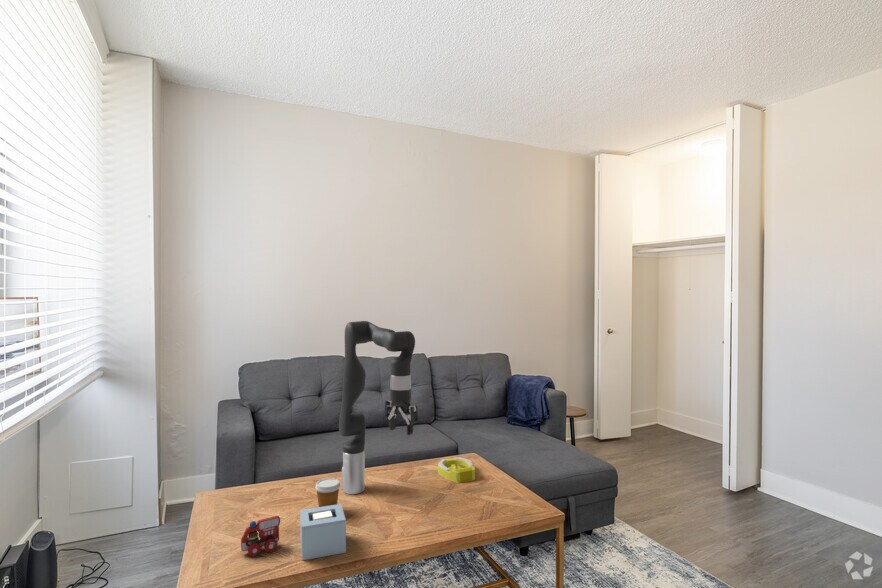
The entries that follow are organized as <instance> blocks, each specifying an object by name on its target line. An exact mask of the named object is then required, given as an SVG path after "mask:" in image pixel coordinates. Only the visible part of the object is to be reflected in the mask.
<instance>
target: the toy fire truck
mask: <svg viewBox="0 0 882 588" xmlns="http://www.w3.org/2000/svg"><path fill="white" fill-rule="evenodd" d="M280 524H281V517H280V516H279V515H274V516H270V517H266V518H262V519H258V521H257V522H256V521H254V520H252V521H250V523H249V526H247V527H246V529H245V530H244V533H243V534H242V537H241V539H240V546H241V547H240V548H241V550H240V551H242V552H247V554H248V555H249V556H250V557H256V556H258V555H259V554H260V553H261V551H262V547H263V549H264V550H265V552H266V553H272V552H275V551H276V550H277V547H278V542H279V541H280Z"/></svg>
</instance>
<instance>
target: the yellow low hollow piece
mask: <svg viewBox="0 0 882 588" xmlns="http://www.w3.org/2000/svg"><path fill="white" fill-rule="evenodd" d="M437 473H438V474H439V476H441V477H442V478H444V479H446V480H448V481H450V482H454V483H456V484H460V483H465V482H473V481H475V480H476V466H475V465H474V464H473V462H472V461H471V460H470V459H467V458H465V457H459V456H456V457H452V458H451V457H450V458H449V457H448V458H442V459H441V460H440V461H439V462H438V464H437Z"/></svg>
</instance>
